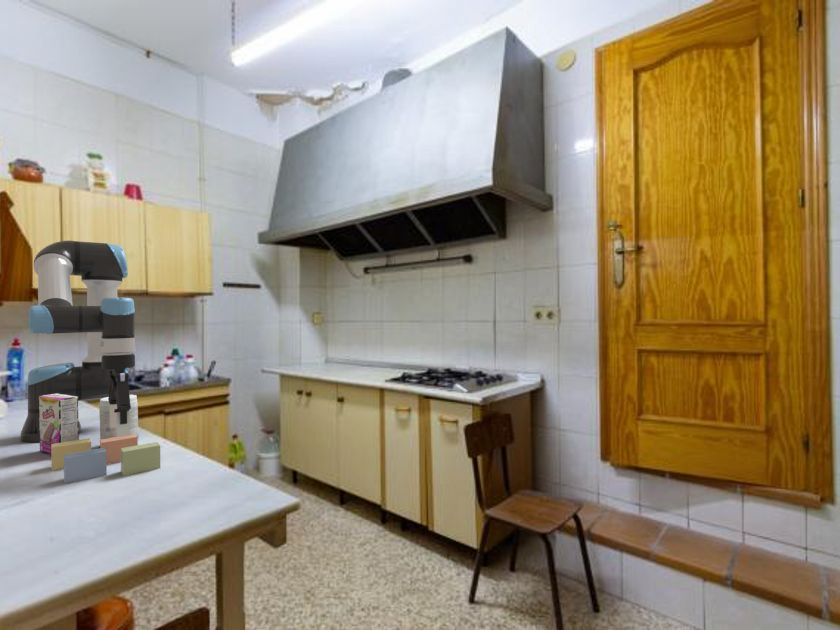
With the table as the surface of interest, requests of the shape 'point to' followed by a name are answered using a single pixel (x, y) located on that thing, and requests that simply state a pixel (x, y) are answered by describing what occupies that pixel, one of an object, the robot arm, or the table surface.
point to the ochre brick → (67, 451)
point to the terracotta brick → (117, 446)
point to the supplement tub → (105, 418)
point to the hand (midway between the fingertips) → (119, 431)
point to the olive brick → (140, 458)
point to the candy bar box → (57, 420)
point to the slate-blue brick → (85, 465)
